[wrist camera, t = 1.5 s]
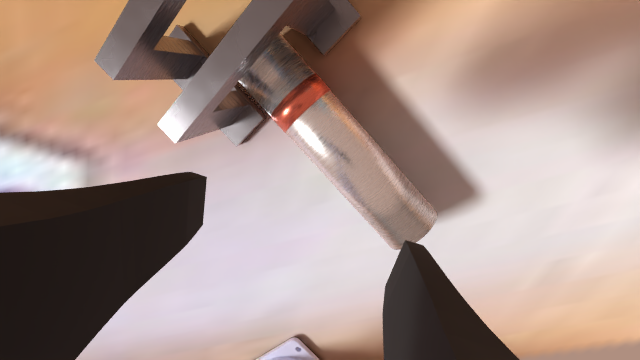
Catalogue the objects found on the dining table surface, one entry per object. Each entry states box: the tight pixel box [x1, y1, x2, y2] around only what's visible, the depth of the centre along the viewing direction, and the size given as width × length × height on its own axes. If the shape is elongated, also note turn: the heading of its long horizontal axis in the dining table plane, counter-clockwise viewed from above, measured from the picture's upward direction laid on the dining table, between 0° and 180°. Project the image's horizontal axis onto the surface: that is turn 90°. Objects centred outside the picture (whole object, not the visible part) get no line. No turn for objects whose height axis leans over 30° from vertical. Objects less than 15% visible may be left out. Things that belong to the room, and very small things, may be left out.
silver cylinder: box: [239, 33, 437, 250], centre depth 17 cm, size 14×4×4 cm, turn 43°
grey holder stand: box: [157, 0, 361, 146], centre depth 15 cm, size 4×11×6 cm, turn 133°
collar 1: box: [94, 0, 210, 90], centre depth 15 cm, size 4×11×6 cm, turn 133°
